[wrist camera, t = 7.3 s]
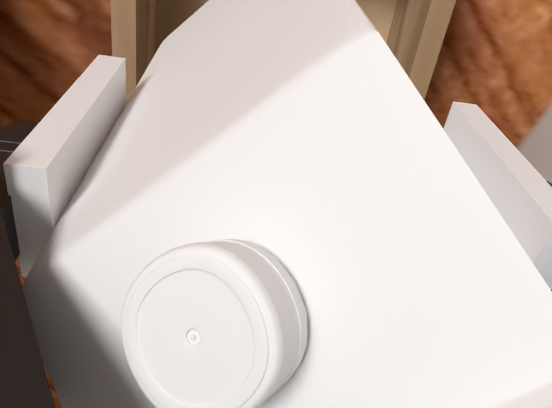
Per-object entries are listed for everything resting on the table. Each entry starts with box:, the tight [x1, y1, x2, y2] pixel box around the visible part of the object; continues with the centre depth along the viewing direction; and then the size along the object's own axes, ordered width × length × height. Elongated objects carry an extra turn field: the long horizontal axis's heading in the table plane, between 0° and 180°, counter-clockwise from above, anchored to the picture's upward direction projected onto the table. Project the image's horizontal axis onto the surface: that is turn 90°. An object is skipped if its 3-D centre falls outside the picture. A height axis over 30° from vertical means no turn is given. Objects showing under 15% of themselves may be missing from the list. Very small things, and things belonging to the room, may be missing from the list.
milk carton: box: [22, 0, 552, 408], centre depth 14 cm, size 7×7×19 cm
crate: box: [111, 0, 456, 103], centre depth 26 cm, size 14×18×6 cm
